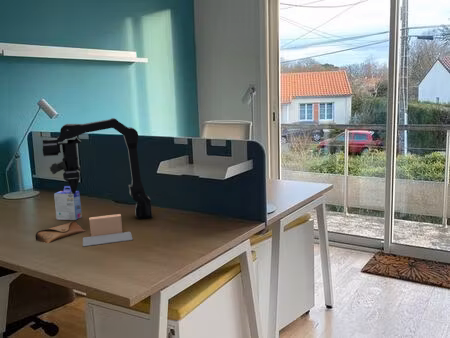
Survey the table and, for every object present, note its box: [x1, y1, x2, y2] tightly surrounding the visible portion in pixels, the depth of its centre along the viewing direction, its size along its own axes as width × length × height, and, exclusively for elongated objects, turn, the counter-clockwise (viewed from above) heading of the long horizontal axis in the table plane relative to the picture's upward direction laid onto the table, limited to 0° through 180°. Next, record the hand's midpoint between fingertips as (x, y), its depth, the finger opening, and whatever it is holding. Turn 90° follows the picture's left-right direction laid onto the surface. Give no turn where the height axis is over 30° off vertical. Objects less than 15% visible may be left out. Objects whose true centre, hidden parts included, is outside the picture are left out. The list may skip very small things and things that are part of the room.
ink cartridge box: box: [53, 185, 83, 221], centre depth 198 cm, size 10×6×14 cm, turn 78°
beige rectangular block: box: [88, 213, 123, 237], centre depth 176 cm, size 12×3×7 cm, turn 107°
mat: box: [82, 231, 133, 247], centre depth 169 cm, size 18×10×1 cm, turn 107°
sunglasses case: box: [34, 220, 86, 244], centre depth 176 cm, size 18×7×7 cm, turn 143°
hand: (74, 191), depth 187 cm, fingers open, 9 cm apart
